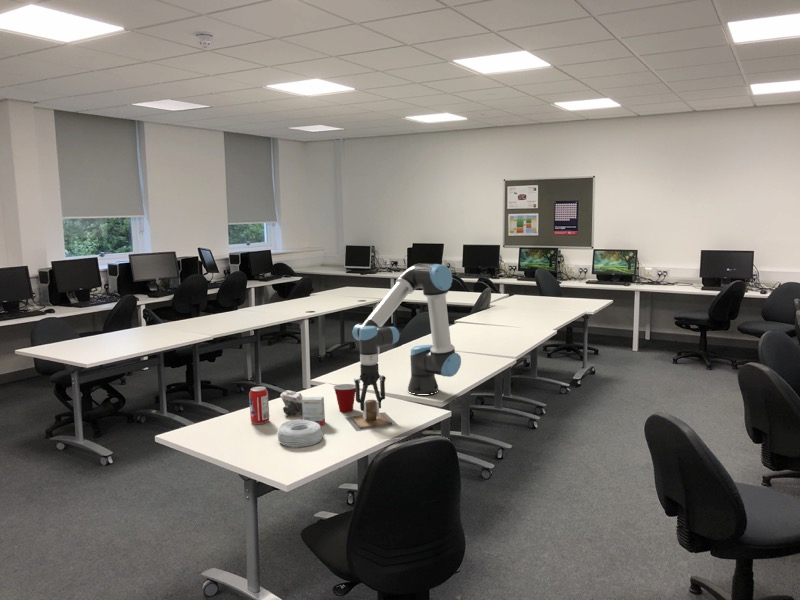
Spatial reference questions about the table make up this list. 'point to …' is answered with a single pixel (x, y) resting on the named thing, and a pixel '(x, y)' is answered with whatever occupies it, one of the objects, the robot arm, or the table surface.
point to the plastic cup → (345, 396)
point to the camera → (292, 402)
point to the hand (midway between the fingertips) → (371, 416)
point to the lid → (371, 417)
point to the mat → (370, 427)
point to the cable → (299, 433)
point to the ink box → (314, 409)
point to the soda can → (259, 405)
